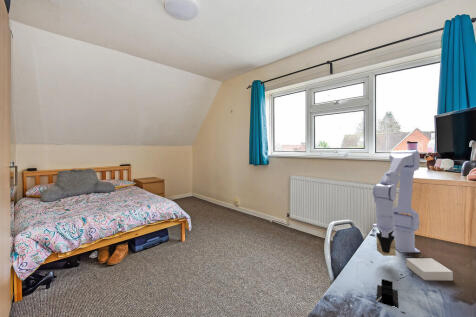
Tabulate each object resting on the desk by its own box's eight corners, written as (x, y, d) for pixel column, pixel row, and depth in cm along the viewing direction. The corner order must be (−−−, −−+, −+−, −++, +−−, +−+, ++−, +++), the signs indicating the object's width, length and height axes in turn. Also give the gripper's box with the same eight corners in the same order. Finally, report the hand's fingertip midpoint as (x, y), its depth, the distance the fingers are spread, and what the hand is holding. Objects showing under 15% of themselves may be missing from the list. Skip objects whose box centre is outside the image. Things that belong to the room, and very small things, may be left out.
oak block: (376, 250, 87) (376, 235, 87) (388, 250, 87) (388, 235, 86) (383, 255, 82) (382, 240, 82) (395, 255, 82) (395, 240, 82)
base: (406, 266, 82) (406, 258, 82) (431, 266, 82) (431, 258, 82) (424, 280, 74) (424, 271, 73) (452, 280, 73) (452, 271, 73)
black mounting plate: (402, 314, 60) (402, 298, 60) (371, 305, 64) (371, 290, 64) (400, 289, 70) (400, 276, 70) (374, 282, 74) (373, 270, 74)
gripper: (374, 208, 92) (375, 239, 93) (371, 218, 80) (372, 254, 81) (394, 210, 88) (395, 243, 89) (394, 221, 76) (395, 258, 77)
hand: (385, 248), depth 84 cm, fingers closed on oak block, 6 cm apart
